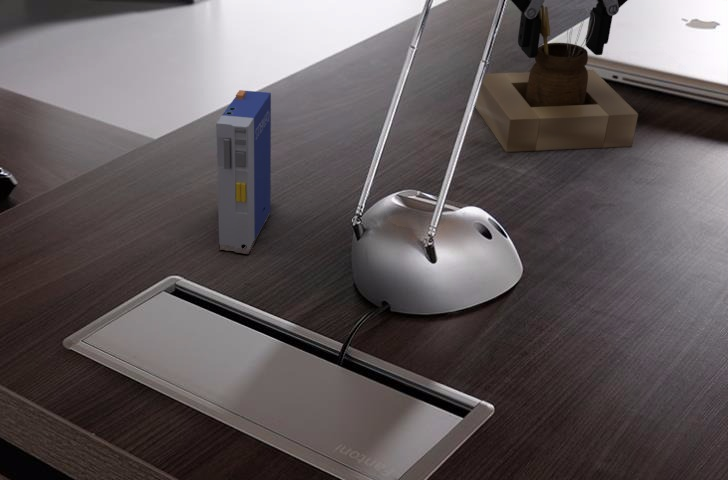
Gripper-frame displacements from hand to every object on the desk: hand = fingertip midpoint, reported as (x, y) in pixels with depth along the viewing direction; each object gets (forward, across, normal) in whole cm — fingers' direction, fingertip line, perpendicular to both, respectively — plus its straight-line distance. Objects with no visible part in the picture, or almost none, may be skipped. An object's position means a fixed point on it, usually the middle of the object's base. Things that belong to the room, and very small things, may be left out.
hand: (561, 50), depth 111 cm
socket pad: (+8, 0, 0) cm, 8 cm away
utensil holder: (+7, 0, 0) cm, 7 cm away
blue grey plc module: (+8, -34, -21) cm, 41 cm away
